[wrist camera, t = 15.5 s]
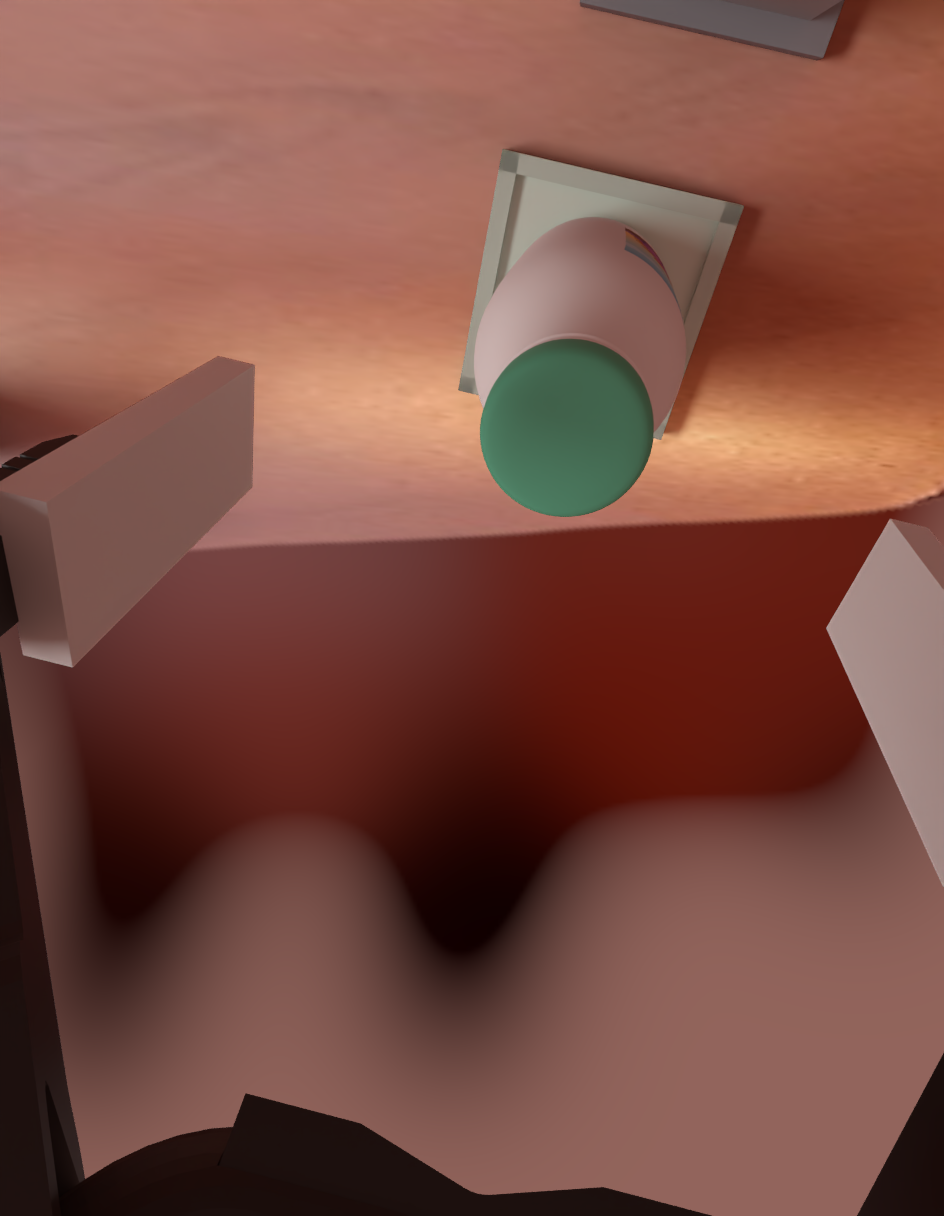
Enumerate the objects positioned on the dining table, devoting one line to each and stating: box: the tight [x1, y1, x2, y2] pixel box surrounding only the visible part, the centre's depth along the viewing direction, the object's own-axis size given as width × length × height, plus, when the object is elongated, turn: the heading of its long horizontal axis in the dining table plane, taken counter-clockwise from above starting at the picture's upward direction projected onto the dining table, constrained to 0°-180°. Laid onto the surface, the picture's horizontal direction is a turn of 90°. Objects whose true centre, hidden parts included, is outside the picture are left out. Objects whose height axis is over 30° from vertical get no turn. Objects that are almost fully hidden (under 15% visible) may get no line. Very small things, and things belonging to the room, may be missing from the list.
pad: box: [458, 149, 744, 440], centre depth 36 cm, size 11×11×1 cm
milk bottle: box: [474, 217, 686, 517], centre depth 27 cm, size 8×8×20 cm
